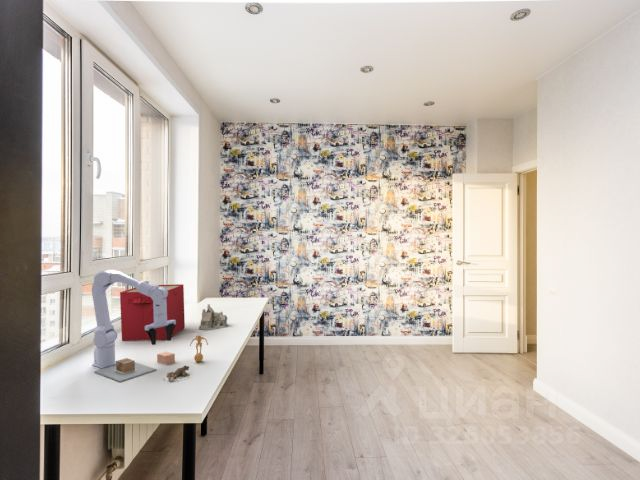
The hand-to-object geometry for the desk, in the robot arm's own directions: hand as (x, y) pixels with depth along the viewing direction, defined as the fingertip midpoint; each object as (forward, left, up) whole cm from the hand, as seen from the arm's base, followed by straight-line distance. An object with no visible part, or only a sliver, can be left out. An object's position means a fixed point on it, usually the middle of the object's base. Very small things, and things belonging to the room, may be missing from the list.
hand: (161, 342), depth 176 cm
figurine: (+13, +11, -10) cm, 20 cm away
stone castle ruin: (-35, +58, -10) cm, 69 cm away
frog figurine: (+22, -7, -10) cm, 25 cm away
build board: (-4, -15, -10) cm, 18 cm away
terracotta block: (0, +2, -10) cm, 10 cm away
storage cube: (-53, +29, -10) cm, 61 cm away
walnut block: (-4, -15, -9) cm, 18 cm away
